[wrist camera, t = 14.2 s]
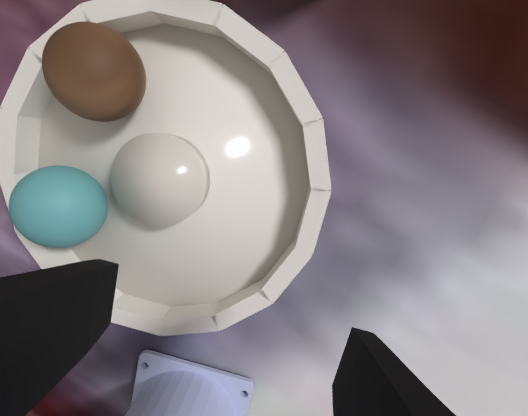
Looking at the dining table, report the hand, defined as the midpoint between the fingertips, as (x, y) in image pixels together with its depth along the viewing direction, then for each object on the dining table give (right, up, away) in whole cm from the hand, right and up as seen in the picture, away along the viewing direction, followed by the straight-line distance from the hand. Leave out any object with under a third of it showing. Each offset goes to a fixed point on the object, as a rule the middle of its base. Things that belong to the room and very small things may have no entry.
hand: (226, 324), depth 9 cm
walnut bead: (-7, +10, +8) cm, 14 cm away
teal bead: (-10, +4, +9) cm, 14 cm away
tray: (-4, +5, +10) cm, 12 cm away
